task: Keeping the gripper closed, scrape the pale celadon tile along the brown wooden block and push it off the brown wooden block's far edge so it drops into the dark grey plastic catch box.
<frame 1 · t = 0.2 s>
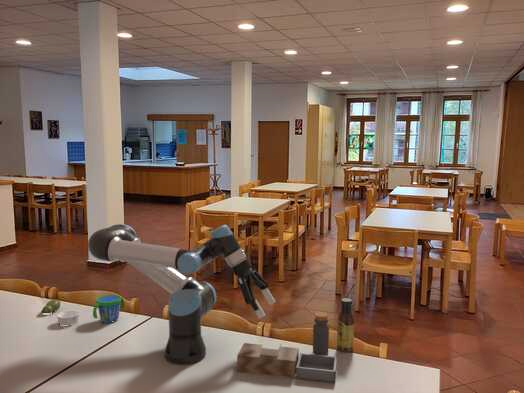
hand: (267, 310, 175), 15 cm above the table, tool tilted 35°, fingers open, 13 cm apart
ramekin: (68, 323, 201), on the table
bottle: (320, 353, 174), on the table
brown wooden block: (268, 367, 161), on the table
sauce bottle: (344, 349, 177), on the table
snack cup: (109, 320, 204), on the table
pear: (50, 312, 214), on the table
tile: (271, 351, 161), point 6 cm above the table, touching brown wooden block
catch box: (316, 373, 158), on the table
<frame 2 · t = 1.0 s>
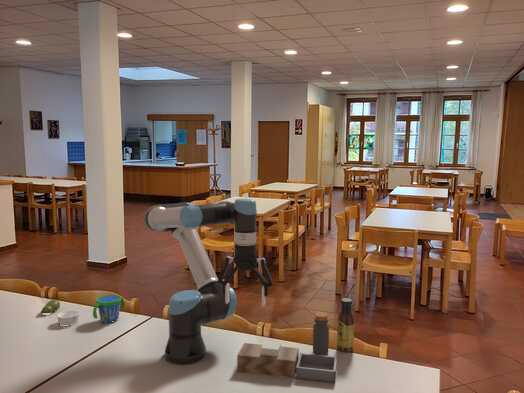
hand: (245, 303, 161), 22 cm above the table, tool pointing down, fingers open, 12 cm apart
nothing on the table moved.
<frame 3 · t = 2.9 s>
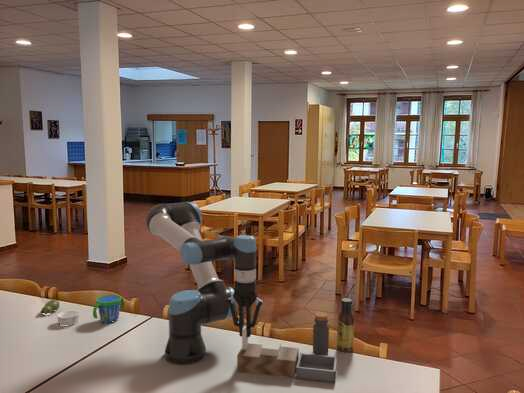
hand: (245, 345, 162), 8 cm above the table, tool pointing down, fingers closed
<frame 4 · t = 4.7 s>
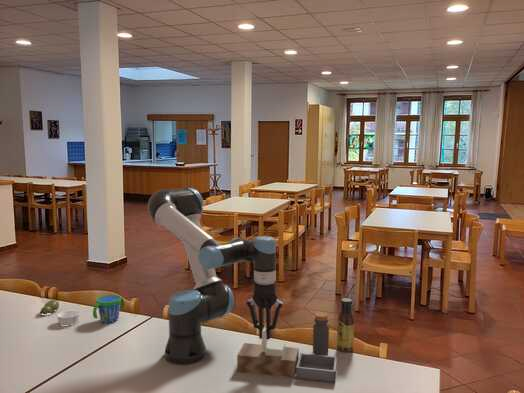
hand: (264, 347, 161), 8 cm above the table, tool pointing down, fingers closed
tile: (275, 352, 160), point 6 cm above the table, touching gripper
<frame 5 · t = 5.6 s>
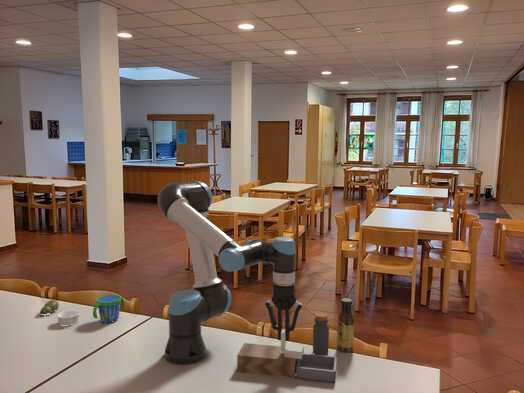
hand: (283, 349, 159), 8 cm above the table, tool pointing down, fingers closed
tile: (294, 354, 159), point 6 cm above the table, touching brown wooden block, gripper
everything else where it was.
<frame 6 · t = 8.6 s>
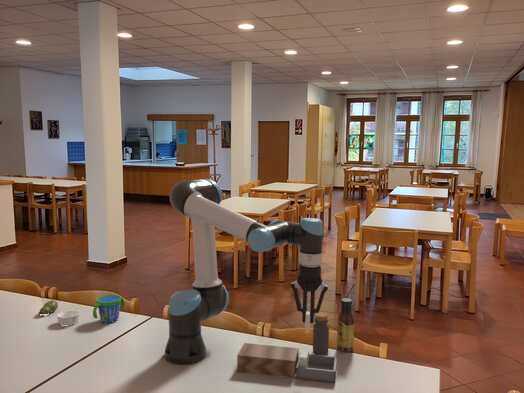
hand: (307, 331, 157), 15 cm above the table, tool pointing down, fingers closed
tile: (300, 361, 159), point 4 cm above the table, tilted 90°, touching catch box
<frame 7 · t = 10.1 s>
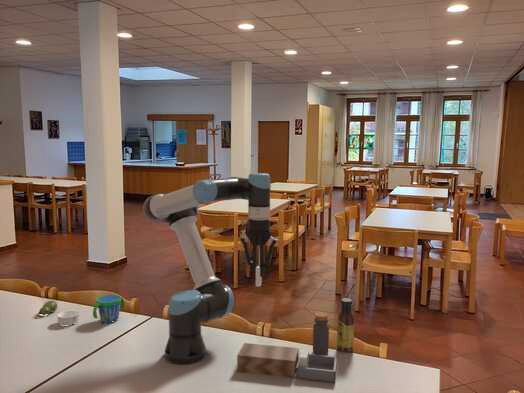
hand: (258, 285, 160), 29 cm above the table, tool pointing down, fingers closed
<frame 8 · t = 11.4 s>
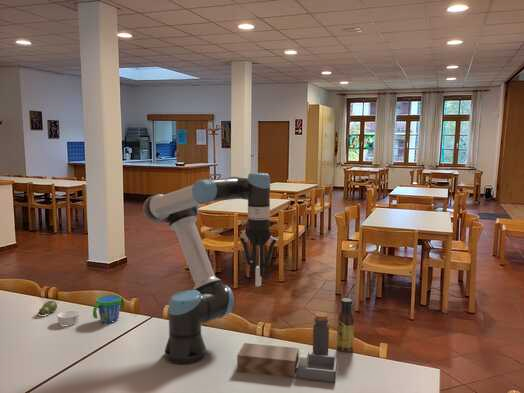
hand: (258, 285, 160), 29 cm above the table, tool pointing down, fingers closed
at the end: tile inside the target area on the catch box (5.7 cm from its centre), point 3.6 cm above the catch box's base; tile moved 10.6 cm from its start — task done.
